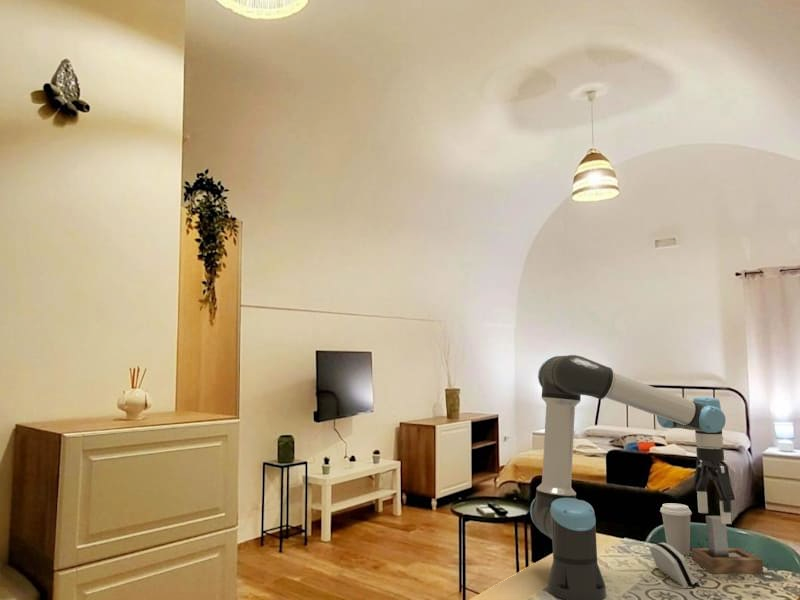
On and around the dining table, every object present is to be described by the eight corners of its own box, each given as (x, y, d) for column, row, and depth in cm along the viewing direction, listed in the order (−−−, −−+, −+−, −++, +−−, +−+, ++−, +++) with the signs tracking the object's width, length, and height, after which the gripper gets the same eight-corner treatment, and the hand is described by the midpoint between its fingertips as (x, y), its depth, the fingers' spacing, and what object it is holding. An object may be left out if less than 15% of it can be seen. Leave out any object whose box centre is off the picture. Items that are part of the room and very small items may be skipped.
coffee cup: (665, 556, 183) (661, 508, 185) (660, 547, 192) (657, 502, 194) (697, 558, 180) (693, 509, 183) (691, 549, 190) (688, 503, 192)
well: (711, 573, 167) (710, 560, 167) (692, 560, 178) (691, 548, 179) (763, 573, 166) (762, 559, 167) (740, 560, 178) (739, 547, 179)
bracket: (716, 567, 170) (712, 519, 172) (709, 563, 174) (705, 515, 176) (743, 567, 170) (738, 518, 172) (735, 563, 174) (731, 515, 176)
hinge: (702, 586, 156) (687, 551, 158) (686, 593, 156) (672, 557, 157) (672, 566, 173) (659, 534, 174) (658, 572, 173) (645, 540, 174)
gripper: (744, 452, 165) (750, 528, 162) (701, 443, 190) (706, 508, 187) (718, 452, 165) (723, 528, 162) (679, 442, 190) (683, 508, 187)
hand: (714, 518), depth 174 cm, fingers open, 13 cm apart
